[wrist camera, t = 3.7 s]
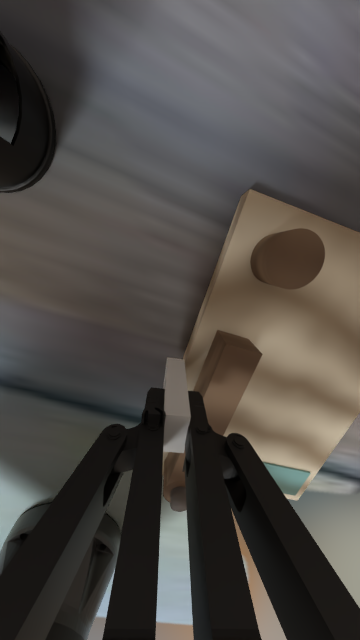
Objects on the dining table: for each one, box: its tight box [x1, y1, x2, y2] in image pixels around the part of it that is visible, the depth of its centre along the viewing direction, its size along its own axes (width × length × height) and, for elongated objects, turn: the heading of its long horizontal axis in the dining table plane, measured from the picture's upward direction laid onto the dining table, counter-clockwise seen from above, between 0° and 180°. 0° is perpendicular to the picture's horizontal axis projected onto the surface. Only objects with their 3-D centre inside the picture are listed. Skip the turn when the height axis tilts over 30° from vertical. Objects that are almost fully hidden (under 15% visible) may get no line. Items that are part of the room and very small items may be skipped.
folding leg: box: [163, 330, 263, 512], centre depth 18 cm, size 18×3×4 cm, turn 162°
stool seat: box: [162, 189, 360, 500], centre depth 20 cm, size 30×20×5 cm, turn 162°
